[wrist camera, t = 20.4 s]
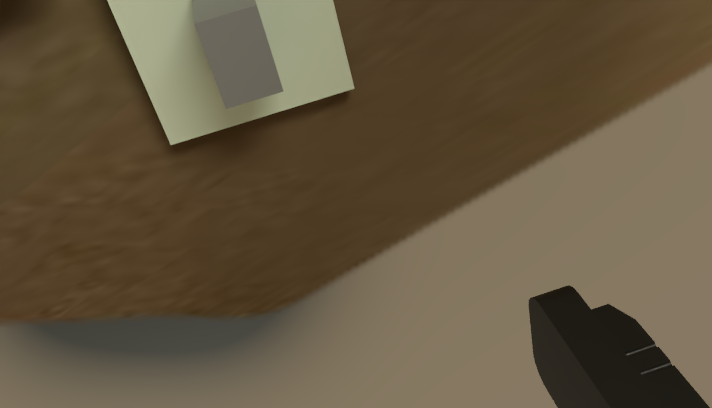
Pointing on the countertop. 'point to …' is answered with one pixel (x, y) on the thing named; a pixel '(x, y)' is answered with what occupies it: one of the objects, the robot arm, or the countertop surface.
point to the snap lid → (232, 58)
